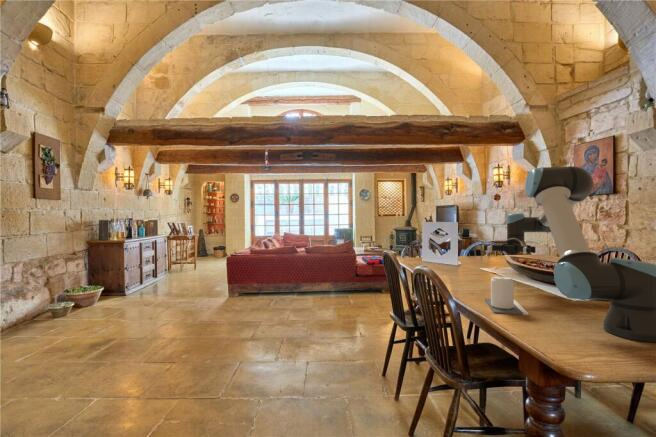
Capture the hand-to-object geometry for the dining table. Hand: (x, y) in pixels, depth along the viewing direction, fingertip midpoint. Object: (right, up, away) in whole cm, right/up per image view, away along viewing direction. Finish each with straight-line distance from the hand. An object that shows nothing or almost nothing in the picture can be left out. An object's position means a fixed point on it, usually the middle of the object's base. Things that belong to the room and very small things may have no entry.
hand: (505, 250), depth 141 cm
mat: (-3, -23, -5) cm, 23 cm away
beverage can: (-5, -22, -7) cm, 24 cm away
